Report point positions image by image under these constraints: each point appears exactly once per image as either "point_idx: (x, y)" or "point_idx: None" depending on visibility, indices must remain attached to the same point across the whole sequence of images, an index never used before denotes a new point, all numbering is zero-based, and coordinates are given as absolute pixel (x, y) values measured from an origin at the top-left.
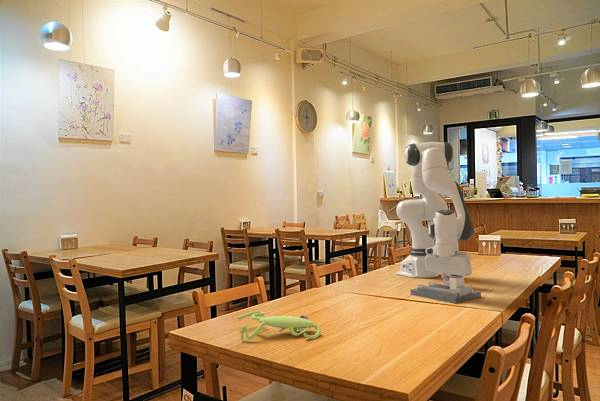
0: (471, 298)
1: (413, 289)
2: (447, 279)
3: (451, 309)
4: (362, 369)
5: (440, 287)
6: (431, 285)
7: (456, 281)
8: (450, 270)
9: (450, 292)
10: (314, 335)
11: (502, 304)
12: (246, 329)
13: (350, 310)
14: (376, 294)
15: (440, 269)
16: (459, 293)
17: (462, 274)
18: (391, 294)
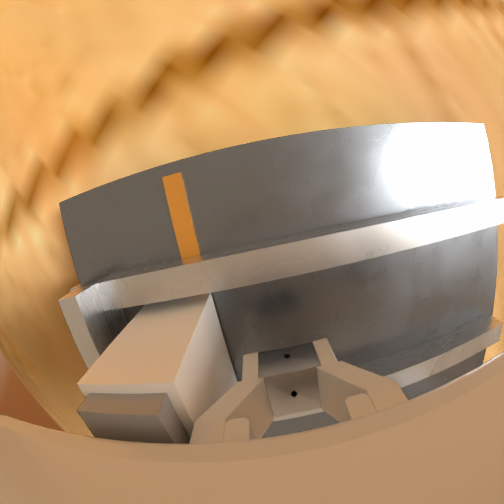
0: None
1: (481, 144)
2: (323, 405)
3: (21, 105)
4: None
5: (412, 350)
6: (477, 323)
7: (95, 367)
8: (144, 494)
9: (164, 265)
10: None
11: (26, 375)
12: None
13: None
14: (494, 24)
15: (436, 441)
16: (82, 284)
17: (4, 425)
18: (487, 59)
